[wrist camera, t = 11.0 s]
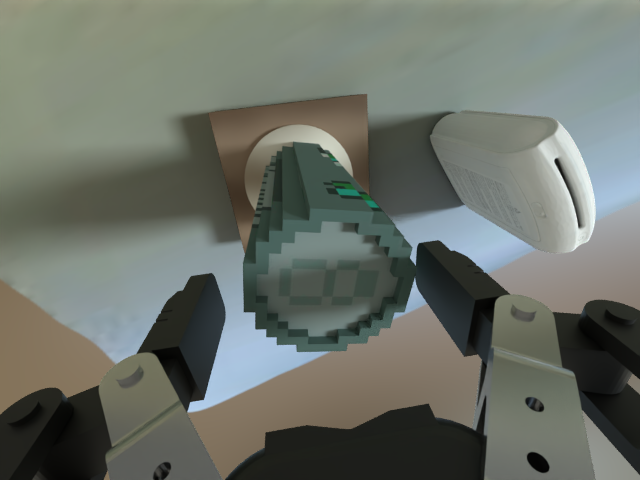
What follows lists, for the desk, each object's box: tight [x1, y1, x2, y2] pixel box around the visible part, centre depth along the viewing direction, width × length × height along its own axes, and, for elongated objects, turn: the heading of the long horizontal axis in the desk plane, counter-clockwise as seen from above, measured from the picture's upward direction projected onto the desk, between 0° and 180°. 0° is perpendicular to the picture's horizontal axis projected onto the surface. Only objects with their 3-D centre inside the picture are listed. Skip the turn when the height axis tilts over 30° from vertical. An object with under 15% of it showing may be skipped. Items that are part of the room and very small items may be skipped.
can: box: [243, 142, 417, 352], centre depth 17 cm, size 6×6×15 cm
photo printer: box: [430, 110, 596, 253], centre depth 23 cm, size 10×4×12 cm, turn 38°
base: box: [208, 94, 369, 253], centre depth 25 cm, size 12×12×4 cm
